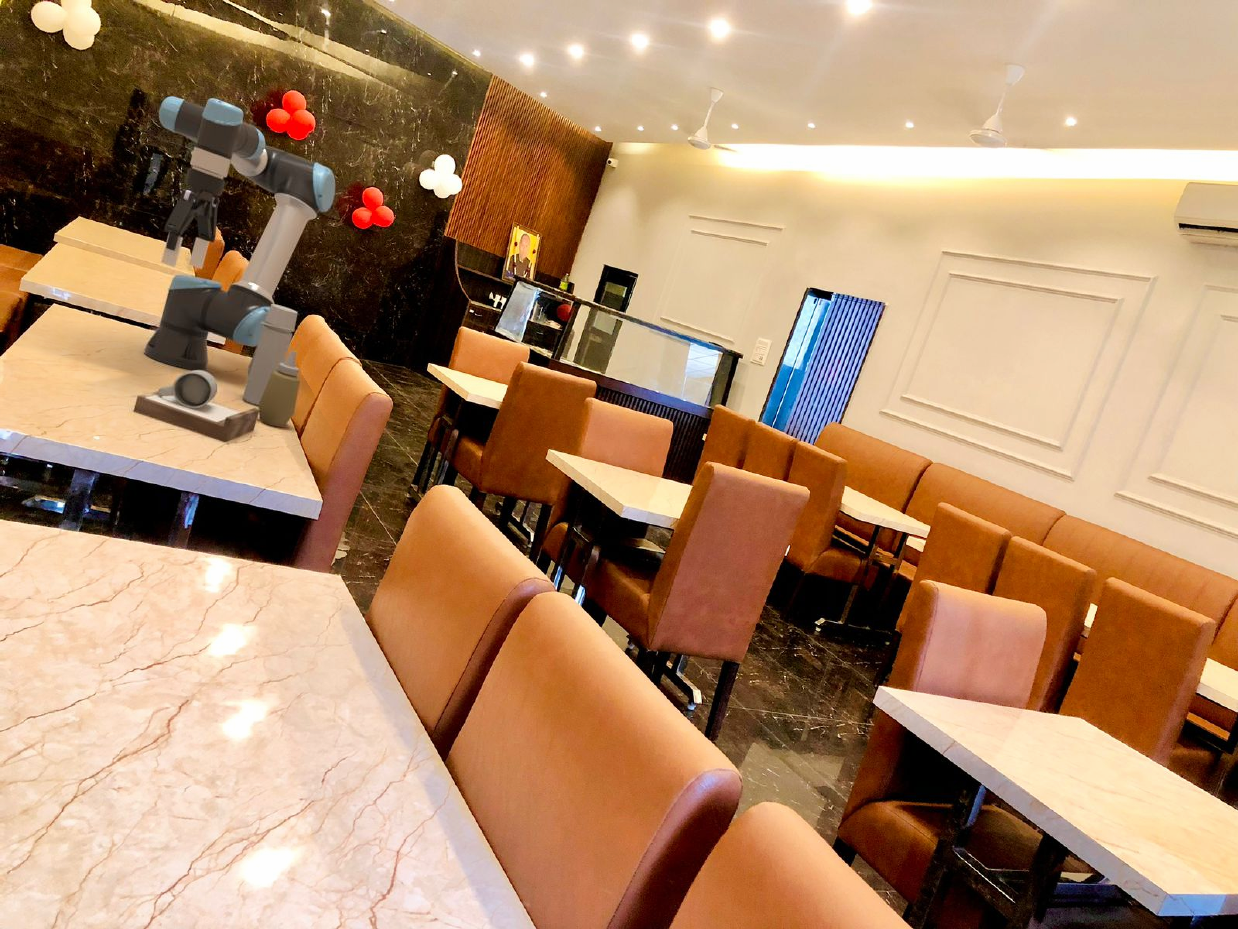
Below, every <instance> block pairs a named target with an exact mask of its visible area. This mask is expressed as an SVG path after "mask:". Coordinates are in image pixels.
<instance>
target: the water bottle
mask: <svg viewBox="0 0 1238 929" xmlns="http://www.w3.org/2000/svg"><path fill="white" fill-rule="evenodd" d="M297 318H298V311H296V310H294V309H292V308H289V307H286V306H284V305H283V306H282V305H279V304H275V303H274V304H271V307H270V309H269V312H268V314H267V316H266V319H265V322H261V324H264V326H263V330H262V333H261V336H260V340H259V342H258V345H257V346H255V350H254V353H253V355H252V357H251V360H250V363H249V364H248V369H247V372H246V378H247V382H246V385H245V388H244V391H243V394H242V398H243V400H244V401H245V402H247V403H248V402H249V404H251V405H254V404H256V405H255V406H257V405H259V402H260V400H261V398H262V395H263V393H264V390H265V388H266V386H267V383H268V381H269V378H270V376H271V374H272V372H274V371H278V370H277V369H278V365H279V363H284V362H285V361H286V359H287V357H286V356H287V353H288V350H289V347H290V345H291V340H292V338H293V337H292V336H293V333H294V332H295V331H296V330H295V329H296V328H295V327H296V323H297V322H296V321H297Z"/></svg>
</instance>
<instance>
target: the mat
mask: <svg viewBox="0 0 1238 929" xmlns="http://www.w3.org/2000/svg"><path fill="white" fill-rule="evenodd" d="M145 399H148V400H151V401H154V402H157V403H160V404H162V405H165V406H168V407H171V408H174V409H177V410H180V411H183V412H186V413H189V414H192V415H195V416H198V417H201V418H204V419H207V420H209V421H212V422H215V423H218V422H221V421H224V420H225V419H226V417H229V416H232V415H235V414H238V413H240V412H241V411H238V412H237V410H236V409H235V410H234V409H232V408H230V407H226V406H224V405H221V404H218V405H217V403H215V404H214V402H212V401H210V402H208V403H207V404H206V405H205V406H202V407H200V408H188V407H185V406H183V405H181V404H180V403H179V402H178V401H177V400H176V399H175V397H174V395H172V396H160V394H158V395H153V396H149V397H145ZM211 402H212V403H211ZM220 405H221V406H220ZM223 406H224V407H223Z"/></svg>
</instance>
